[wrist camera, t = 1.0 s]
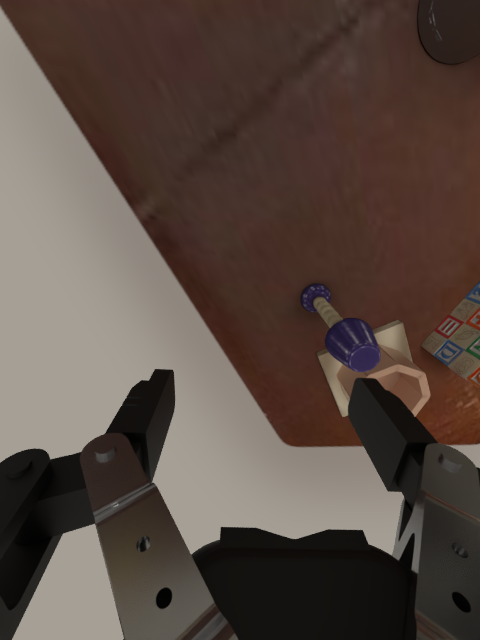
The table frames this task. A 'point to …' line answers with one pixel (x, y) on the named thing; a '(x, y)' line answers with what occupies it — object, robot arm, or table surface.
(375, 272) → the table surface
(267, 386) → the table surface
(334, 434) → the table surface
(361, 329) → the toy lamp
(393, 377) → the beige octagonal hollow piece
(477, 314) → the stack of blocks
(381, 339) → the birch board
